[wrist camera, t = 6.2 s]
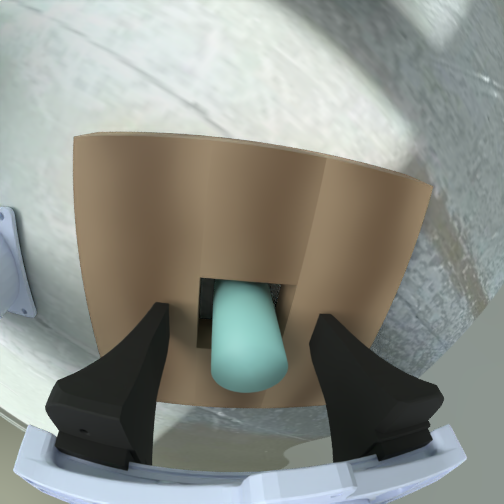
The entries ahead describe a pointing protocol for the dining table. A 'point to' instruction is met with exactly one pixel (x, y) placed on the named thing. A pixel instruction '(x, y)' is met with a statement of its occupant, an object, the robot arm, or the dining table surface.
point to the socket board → (237, 246)
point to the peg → (246, 337)
